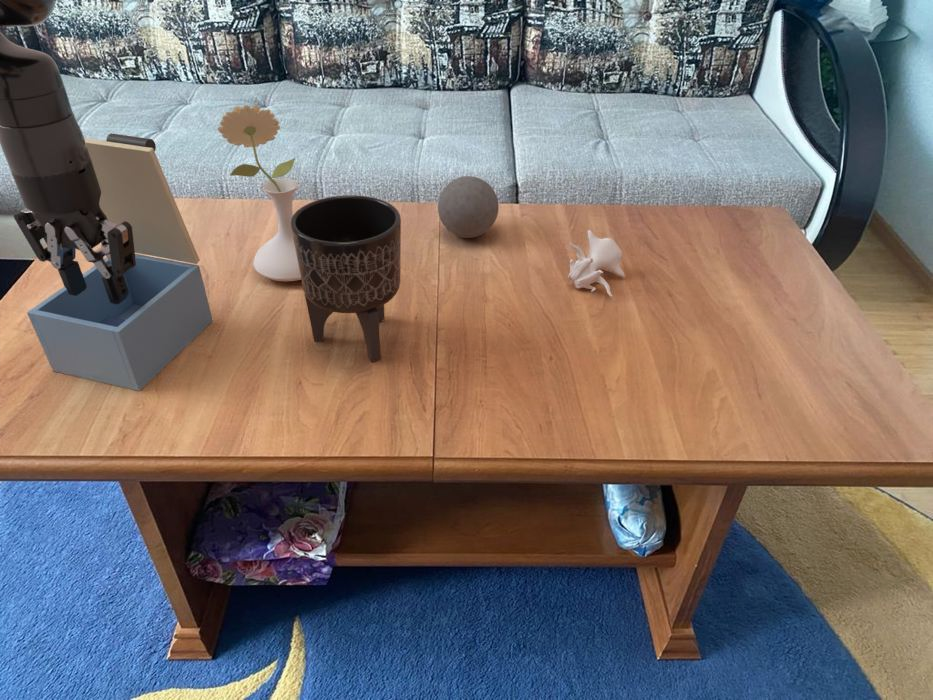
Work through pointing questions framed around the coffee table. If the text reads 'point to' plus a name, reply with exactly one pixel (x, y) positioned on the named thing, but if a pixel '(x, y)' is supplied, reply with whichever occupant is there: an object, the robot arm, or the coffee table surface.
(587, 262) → the figurine
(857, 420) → the coffee table surface
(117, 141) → the lid
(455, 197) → the decorative ball
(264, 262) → the flower in vase
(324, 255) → the planter
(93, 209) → the robot arm
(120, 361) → the light blue open box
